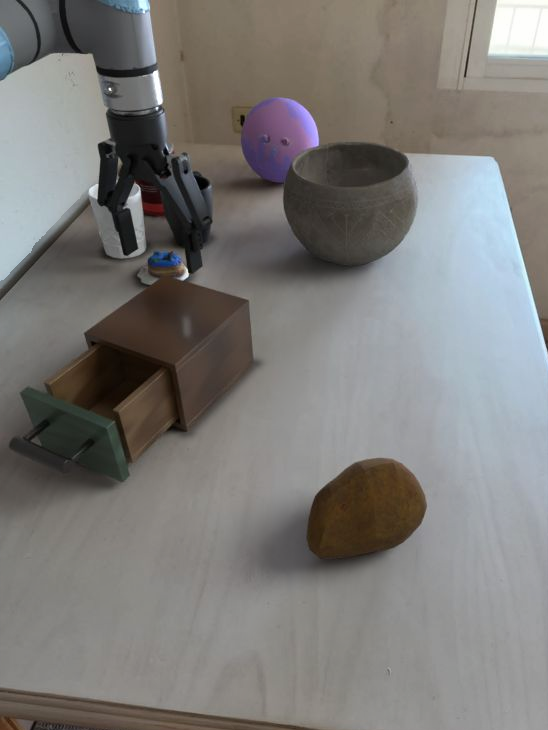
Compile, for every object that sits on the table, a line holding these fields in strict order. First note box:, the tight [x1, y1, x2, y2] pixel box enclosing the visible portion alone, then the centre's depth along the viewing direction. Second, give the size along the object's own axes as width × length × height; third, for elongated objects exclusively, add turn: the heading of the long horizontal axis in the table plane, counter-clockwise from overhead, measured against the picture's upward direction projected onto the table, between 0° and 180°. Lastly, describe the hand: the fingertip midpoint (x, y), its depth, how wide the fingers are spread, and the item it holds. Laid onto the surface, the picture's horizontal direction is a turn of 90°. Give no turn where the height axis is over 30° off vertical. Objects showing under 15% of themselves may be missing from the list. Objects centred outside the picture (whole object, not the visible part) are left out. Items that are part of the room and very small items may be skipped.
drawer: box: [8, 343, 179, 483], centre depth 67 cm, size 18×11×8 cm, turn 153°
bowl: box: [282, 141, 419, 266], centre depth 100 cm, size 21×21×15 cm
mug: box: [160, 170, 214, 247], centre depth 105 cm, size 8×12×10 cm
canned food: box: [135, 140, 176, 217], centre depth 113 cm, size 8×8×11 cm
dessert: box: [137, 250, 190, 286], centre depth 97 cm, size 8×7×6 cm
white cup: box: [87, 179, 147, 259], centre depth 101 cm, size 8×8×10 cm
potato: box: [306, 457, 428, 560], centre depth 59 cm, size 8×12×9 cm
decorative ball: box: [240, 97, 320, 184], centre depth 122 cm, size 15×15×15 cm
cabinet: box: [83, 275, 255, 432], centre depth 76 cm, size 15×13×10 cm
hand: (162, 260), depth 96 cm, fingers open, 12 cm apart
